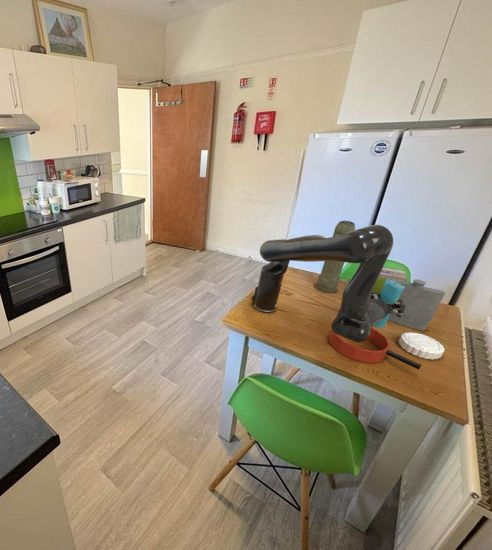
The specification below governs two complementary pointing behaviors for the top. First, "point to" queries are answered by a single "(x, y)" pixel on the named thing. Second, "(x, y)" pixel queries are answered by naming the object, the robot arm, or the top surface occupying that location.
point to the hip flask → (417, 304)
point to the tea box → (390, 275)
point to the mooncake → (421, 345)
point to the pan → (367, 354)
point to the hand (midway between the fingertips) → (389, 297)
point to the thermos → (333, 263)
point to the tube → (389, 297)
